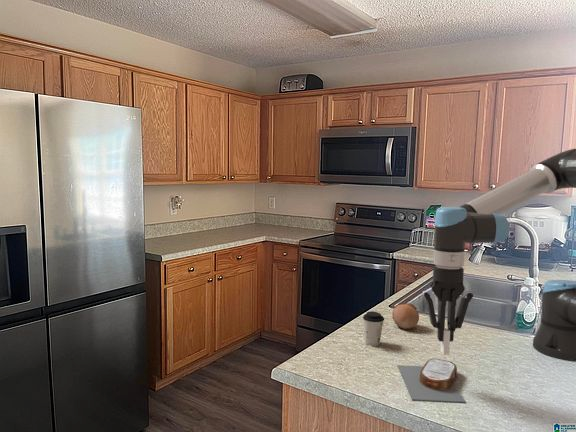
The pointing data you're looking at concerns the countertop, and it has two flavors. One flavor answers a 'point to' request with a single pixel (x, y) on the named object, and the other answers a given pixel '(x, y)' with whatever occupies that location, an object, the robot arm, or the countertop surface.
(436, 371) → the tin
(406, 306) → the onion
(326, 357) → the countertop surface
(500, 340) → the countertop surface
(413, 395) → the mat
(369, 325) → the coffee cup
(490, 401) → the countertop surface
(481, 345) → the countertop surface
